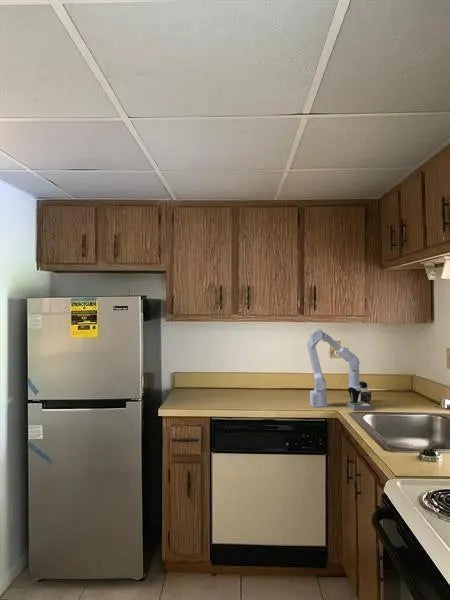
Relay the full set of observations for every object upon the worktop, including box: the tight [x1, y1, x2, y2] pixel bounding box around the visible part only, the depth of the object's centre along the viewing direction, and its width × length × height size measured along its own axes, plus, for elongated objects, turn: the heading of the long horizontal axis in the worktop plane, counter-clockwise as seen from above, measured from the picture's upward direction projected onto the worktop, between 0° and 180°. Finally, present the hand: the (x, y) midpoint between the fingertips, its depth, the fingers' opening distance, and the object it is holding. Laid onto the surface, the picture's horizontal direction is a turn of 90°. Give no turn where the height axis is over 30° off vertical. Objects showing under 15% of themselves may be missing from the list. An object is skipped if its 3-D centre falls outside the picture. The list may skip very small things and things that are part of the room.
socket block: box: [345, 400, 373, 412], centre depth 276 cm, size 10×13×3 cm
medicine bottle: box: [358, 381, 372, 404], centre depth 293 cm, size 7×7×12 cm
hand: (354, 401), depth 279 cm, fingers closed on plug, 3 cm apart
